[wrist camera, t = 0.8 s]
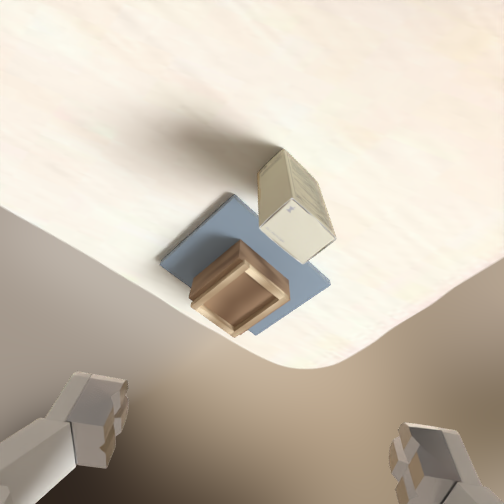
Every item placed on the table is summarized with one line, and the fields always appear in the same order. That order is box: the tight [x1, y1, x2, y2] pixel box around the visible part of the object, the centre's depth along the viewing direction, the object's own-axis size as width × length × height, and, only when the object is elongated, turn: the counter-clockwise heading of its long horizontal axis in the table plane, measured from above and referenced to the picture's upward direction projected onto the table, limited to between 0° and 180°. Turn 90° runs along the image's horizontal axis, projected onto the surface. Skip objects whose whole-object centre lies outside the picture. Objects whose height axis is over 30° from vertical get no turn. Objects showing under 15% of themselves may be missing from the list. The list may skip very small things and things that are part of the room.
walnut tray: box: [189, 239, 290, 338], centre depth 51 cm, size 9×10×5 cm
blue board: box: [160, 194, 331, 335], centre depth 53 cm, size 18×14×1 cm
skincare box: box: [257, 149, 336, 264], centre depth 40 cm, size 6×4×12 cm
